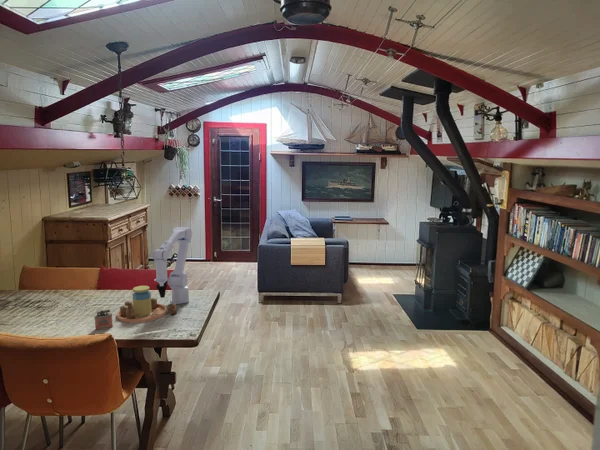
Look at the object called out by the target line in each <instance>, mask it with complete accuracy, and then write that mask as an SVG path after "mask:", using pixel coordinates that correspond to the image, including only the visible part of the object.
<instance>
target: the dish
mask: <svg viewBox="0 0 600 450" xmlns="http://www.w3.org/2000/svg"><path fill="white" fill-rule="evenodd" d="M167 307H168V306H167V305H164V304H163V303H158V302H157V308H156V309H152V312H151V314H150V315H146V316H135V319H127V318H126V317H121V316H120V309H119V310H118V311H117V312H116V316H117V317H116V319H117V320H119V321H121V322H125V323H130V324H131V323H134V324H135V323H145V322H146V323H147V322H151V321H155V320H159V319H160V318H162V317H163V316H165V315H166V314H167V313H168V308H167Z"/></svg>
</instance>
